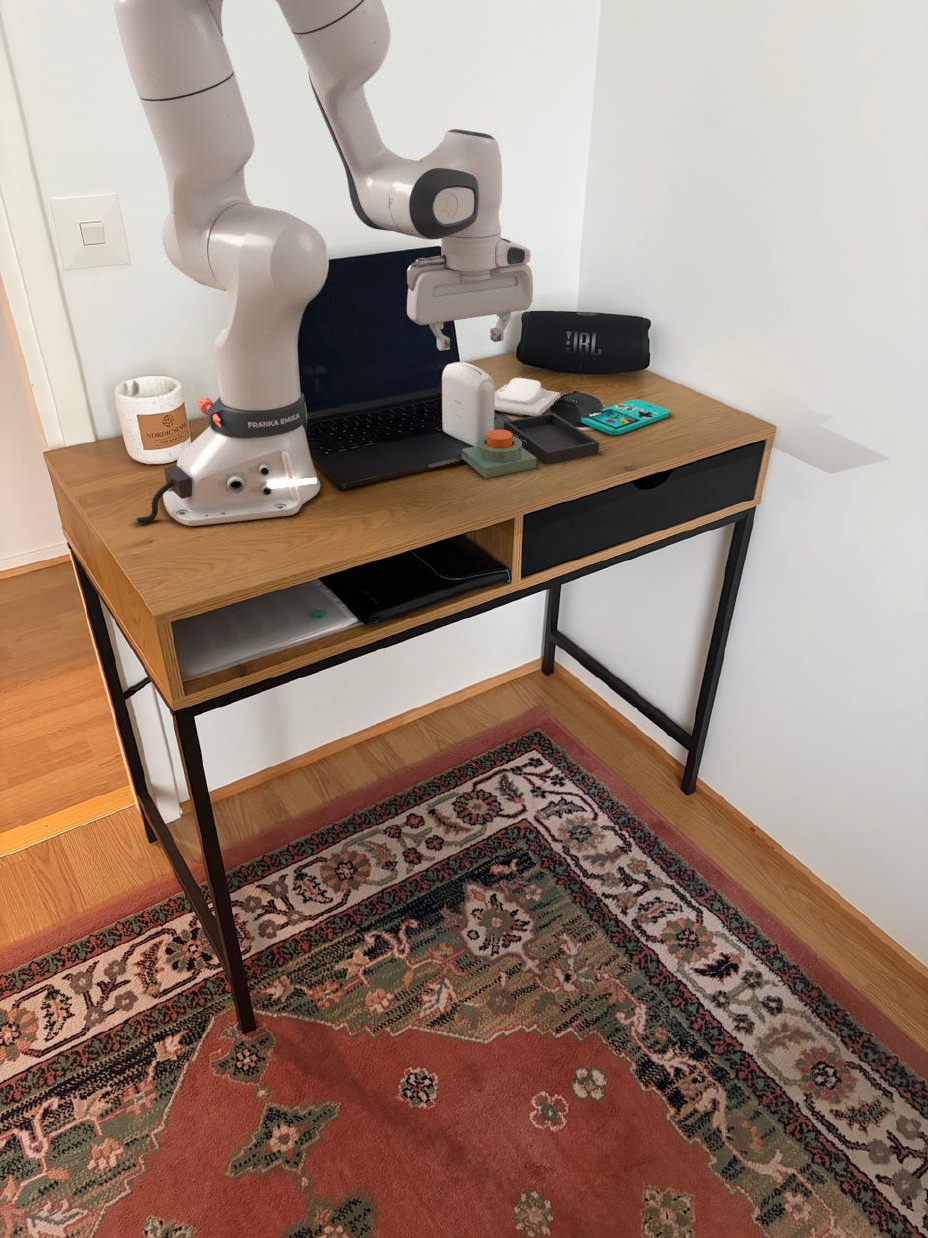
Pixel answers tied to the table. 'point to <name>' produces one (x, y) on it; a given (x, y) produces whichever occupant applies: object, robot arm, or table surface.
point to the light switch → (524, 398)
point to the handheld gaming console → (626, 417)
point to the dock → (552, 438)
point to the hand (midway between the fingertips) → (470, 344)
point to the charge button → (499, 439)
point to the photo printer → (467, 402)
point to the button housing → (498, 458)
